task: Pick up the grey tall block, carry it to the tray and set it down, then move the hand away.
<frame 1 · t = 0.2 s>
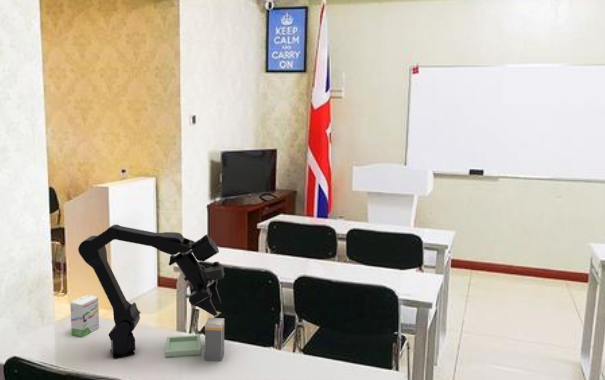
hand: (218, 309, 162), 15 cm above the table, tool tilted 35°, fingers open, 9 cm apart
ink box: (85, 332, 178), on the table
grey tall block: (214, 357, 162), on the table
tray: (183, 348, 167), on the table
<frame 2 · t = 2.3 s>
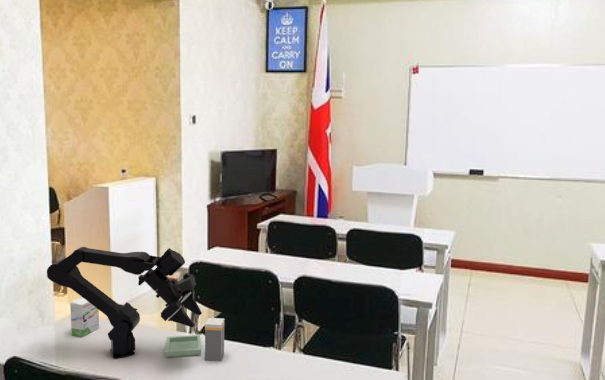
hand: (197, 320, 160), 12 cm above the table, tool tilted 45°, fingers open, 9 cm apart
nothing on the table moved.
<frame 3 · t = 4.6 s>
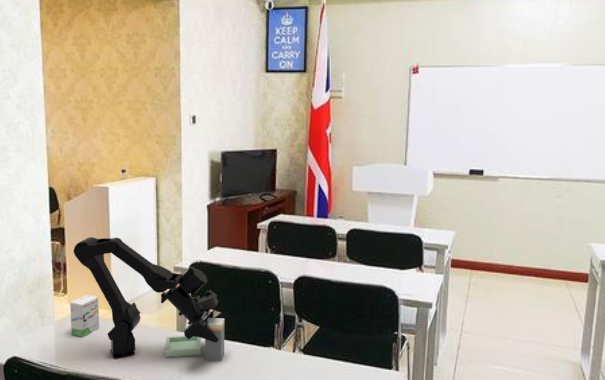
hand: (219, 337, 161), 7 cm above the table, tool tilted 45°, fingers closed on grey tall block, 5 cm apart
grey tall block: (214, 357, 162), on the table, touching gripper
everything else where it was.
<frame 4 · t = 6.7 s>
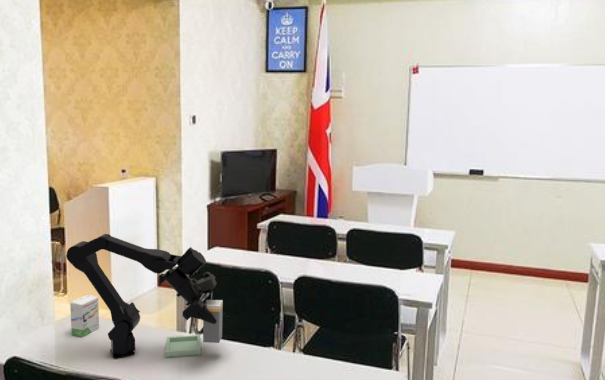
hand: (217, 319, 160), 12 cm above the table, tool tilted 45°, fingers closed on grey tall block, 5 cm apart
grey tall block: (212, 339, 161), point 6 cm above the table, touching gripper
everything else where it was.
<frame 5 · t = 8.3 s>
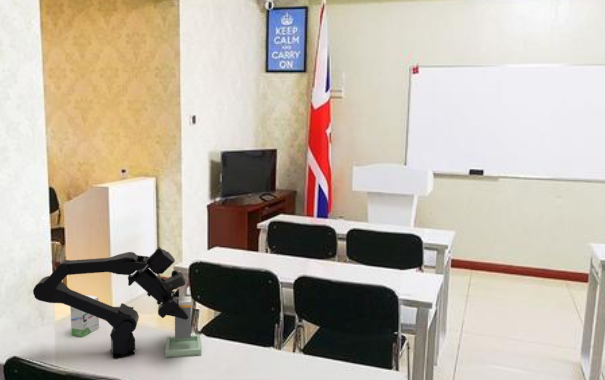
hand: (187, 315, 166), 12 cm above the table, tool tilted 45°, fingers closed on grey tall block, 5 cm apart
grey tall block: (182, 334, 166), point 5 cm above the table, touching gripper
everything else where it was.
when the fingers open (8 cm above the table, at t = 9.3 s): grey tall block drops 1 cm, resting on tray.
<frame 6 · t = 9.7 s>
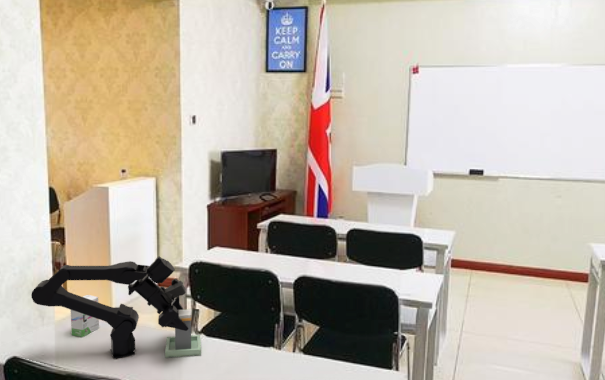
hand: (187, 323, 166), 9 cm above the table, tool tilted 45°, fingers open, 9 cm apart
grey tall block: (183, 347, 167), resting on tray
everything else where it was.
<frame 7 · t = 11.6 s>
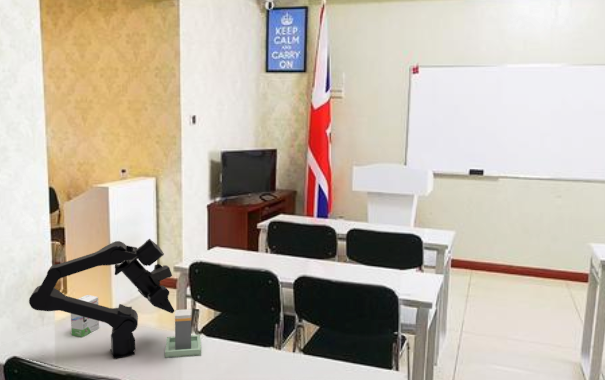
hand: (169, 308, 166), 13 cm above the table, tool tilted 40°, fingers open, 9 cm apart
nothing on the table moved.
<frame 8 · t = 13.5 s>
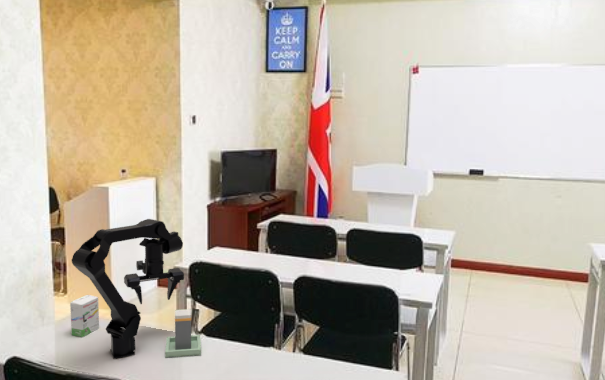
hand: (154, 301, 172), 13 cm above the table, tool pointing down, fingers open, 9 cm apart
nothing on the table moved.
at the end: grey tall block 0.0 cm off-centre on the tray, point 0.5 cm above the tray's base; grey tall block tilted 0°; the gripper is holding nothing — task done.
